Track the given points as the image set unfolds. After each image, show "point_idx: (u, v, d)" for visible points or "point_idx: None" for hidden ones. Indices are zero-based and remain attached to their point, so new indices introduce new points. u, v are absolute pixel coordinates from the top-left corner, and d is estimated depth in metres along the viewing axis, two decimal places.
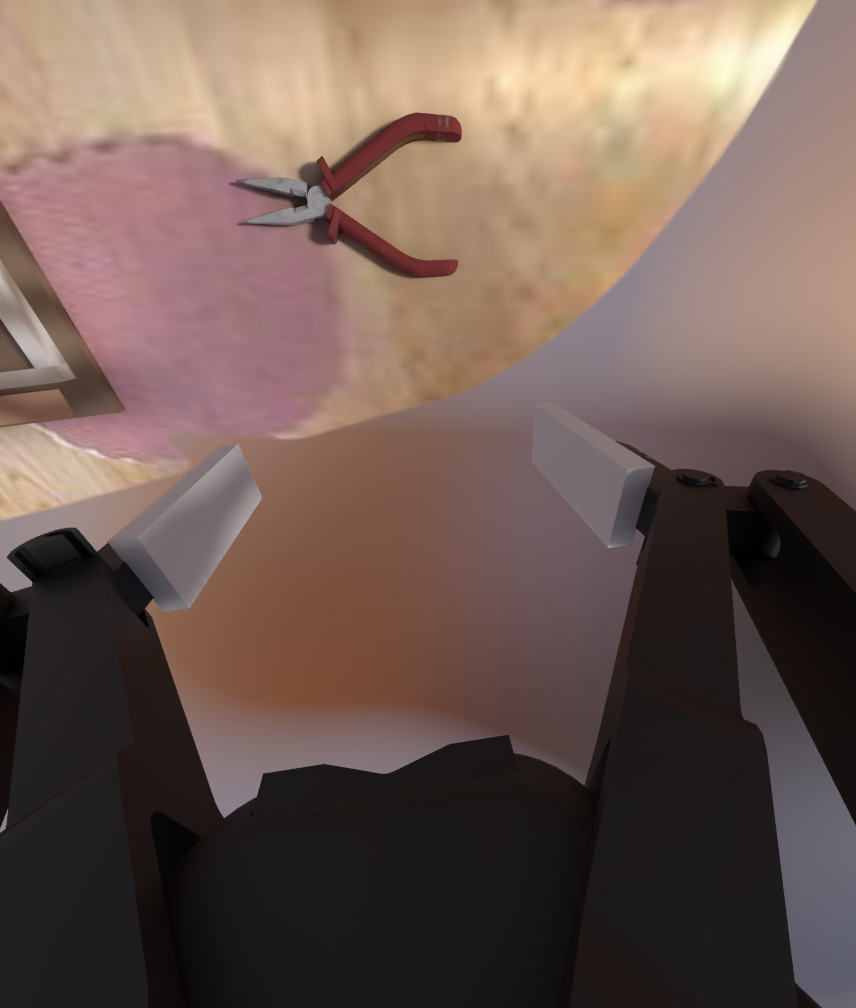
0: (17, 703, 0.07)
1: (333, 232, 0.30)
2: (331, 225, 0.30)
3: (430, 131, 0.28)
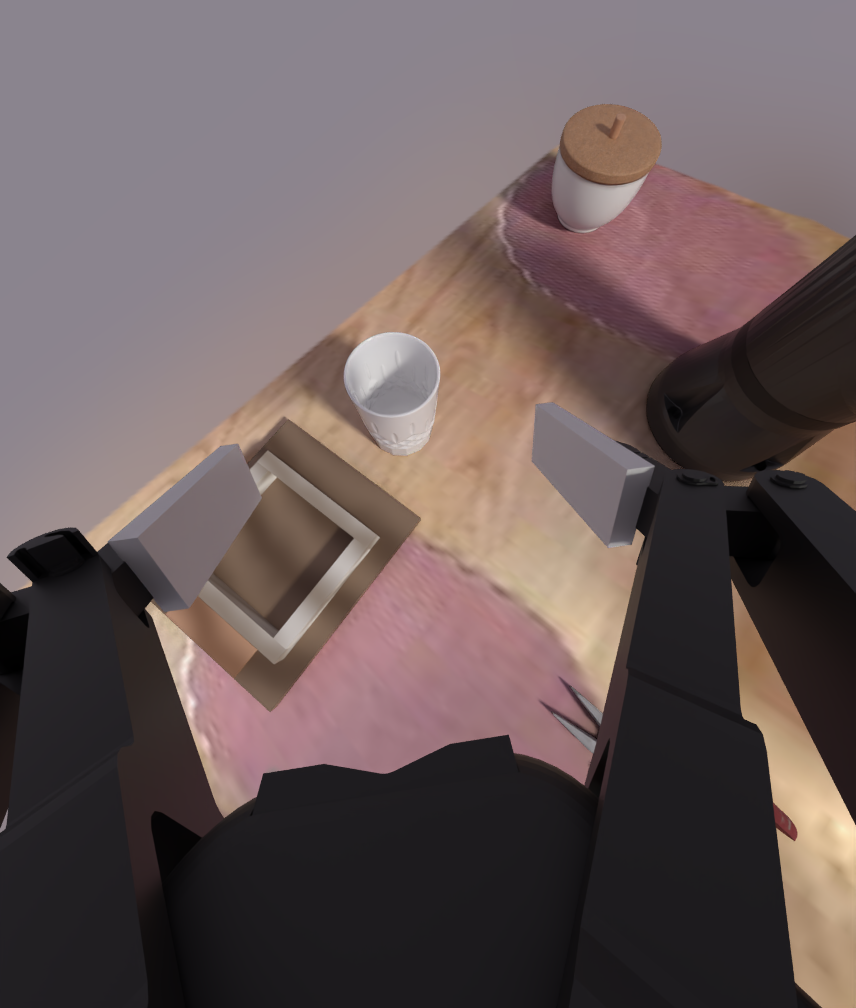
0: (17, 703, 0.07)
1: None
2: None
3: None
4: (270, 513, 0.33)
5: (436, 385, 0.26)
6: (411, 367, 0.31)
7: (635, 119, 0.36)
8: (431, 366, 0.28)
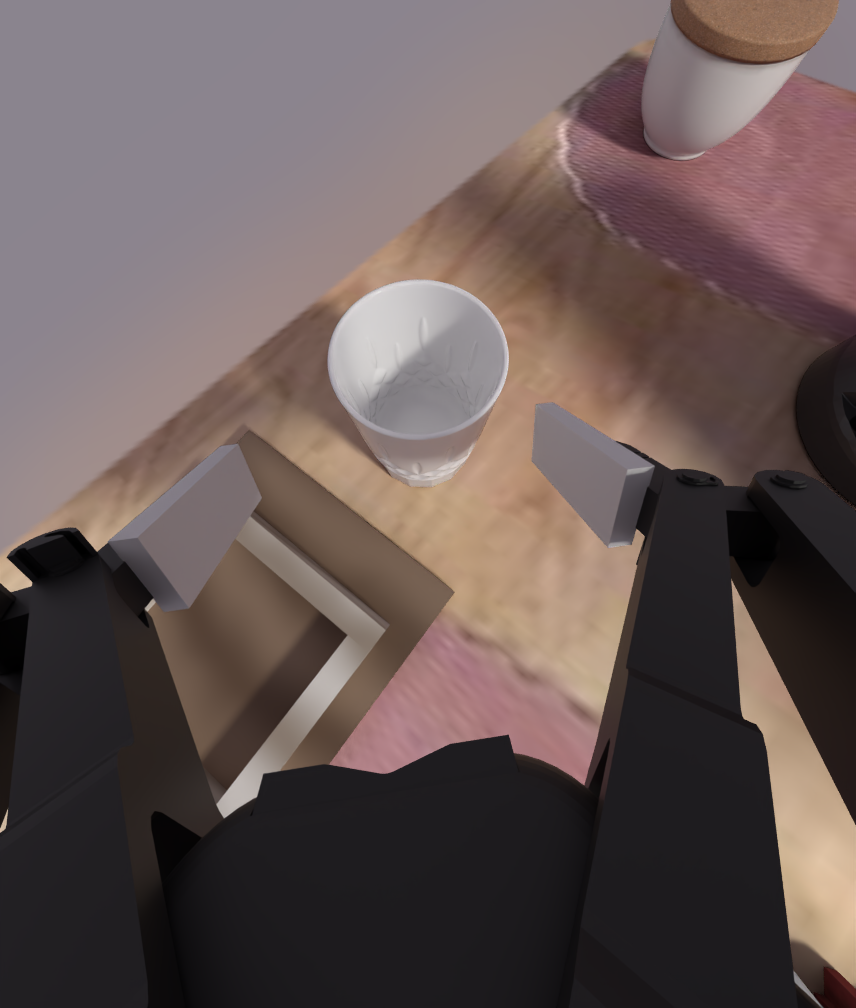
0: (17, 703, 0.07)
1: None
2: None
3: None
4: (215, 581, 0.21)
5: (502, 378, 0.14)
6: (444, 348, 0.18)
7: None
8: (486, 345, 0.16)
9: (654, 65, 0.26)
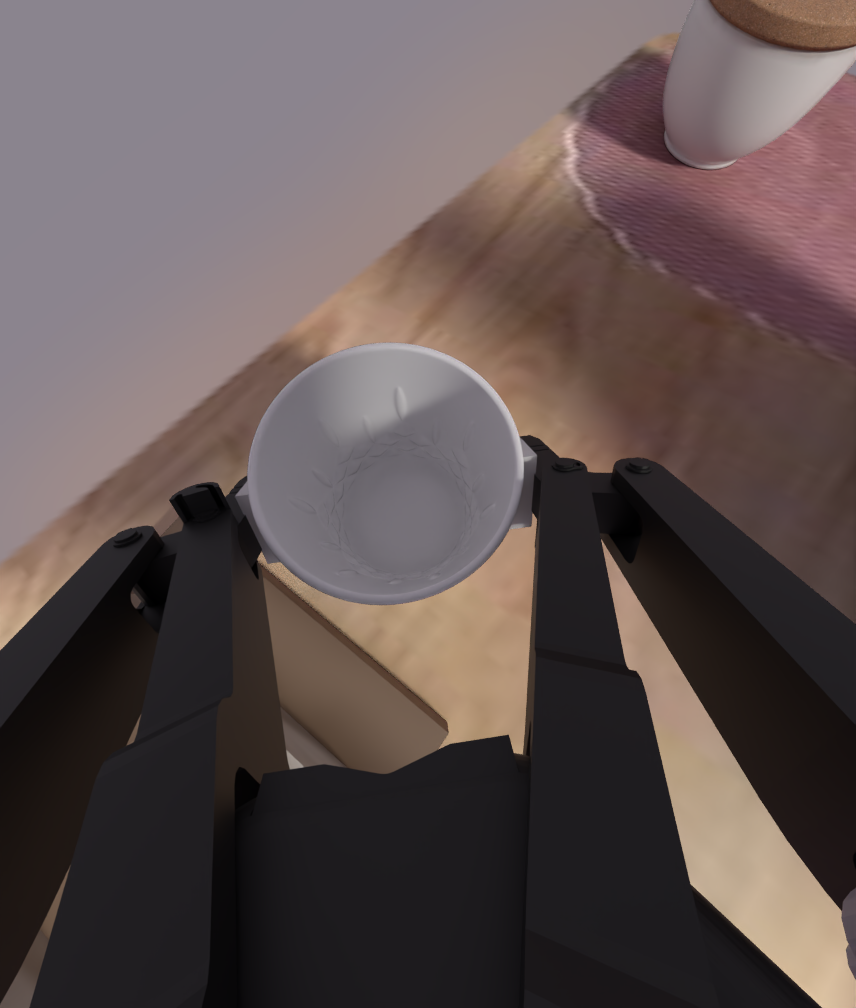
0: (152, 638, 0.08)
1: None
2: None
3: None
4: None
5: (515, 499, 0.09)
6: (430, 420, 0.14)
7: None
8: (488, 432, 0.11)
9: (682, 57, 0.21)
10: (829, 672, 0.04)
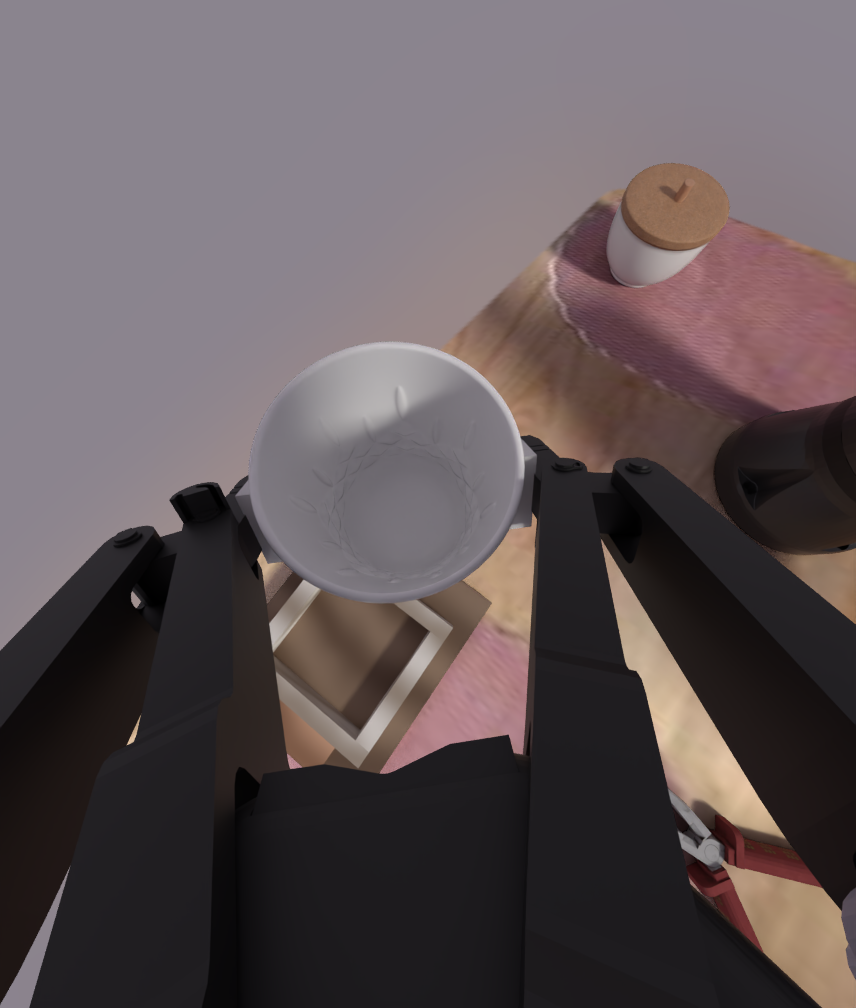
0: (152, 638, 0.08)
1: (713, 893, 0.26)
2: (715, 887, 0.26)
3: None
4: (339, 600, 0.33)
5: (516, 498, 0.09)
6: (431, 419, 0.14)
7: (701, 179, 0.35)
8: (489, 431, 0.11)
9: (613, 237, 0.37)
10: (829, 672, 0.04)
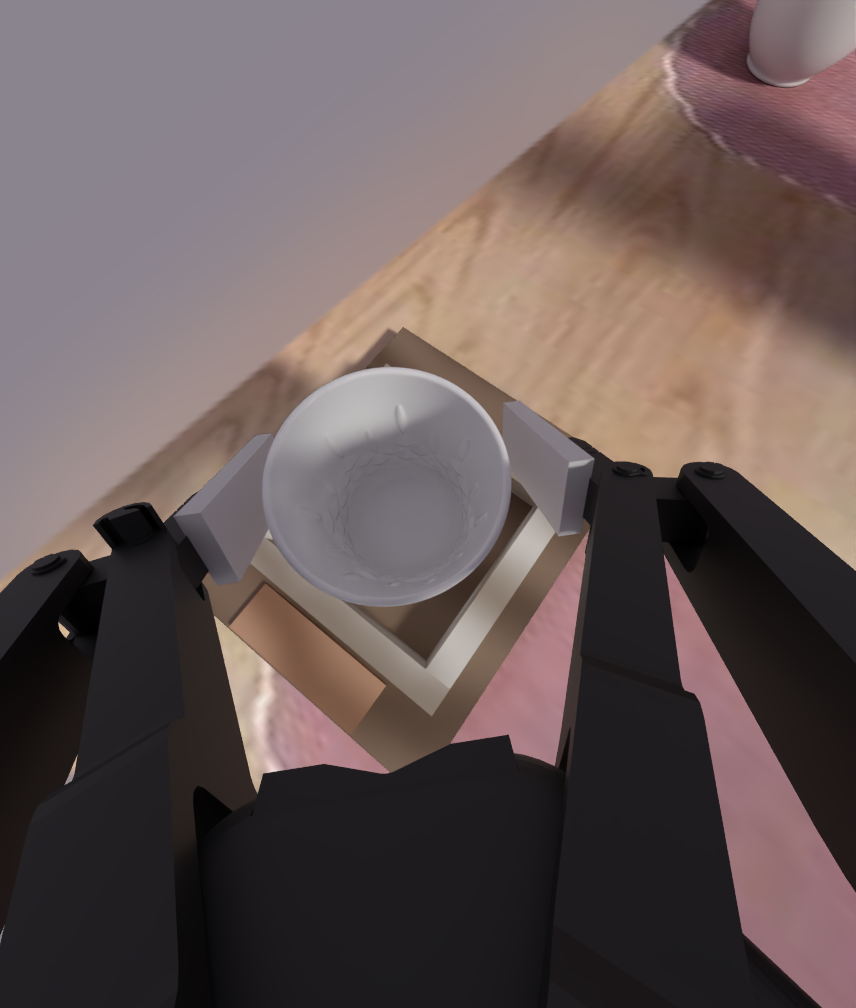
0: (87, 666, 0.07)
1: None
2: None
3: None
4: None
5: (503, 512, 0.10)
6: (429, 433, 0.15)
7: None
8: (481, 447, 0.12)
9: None
10: None
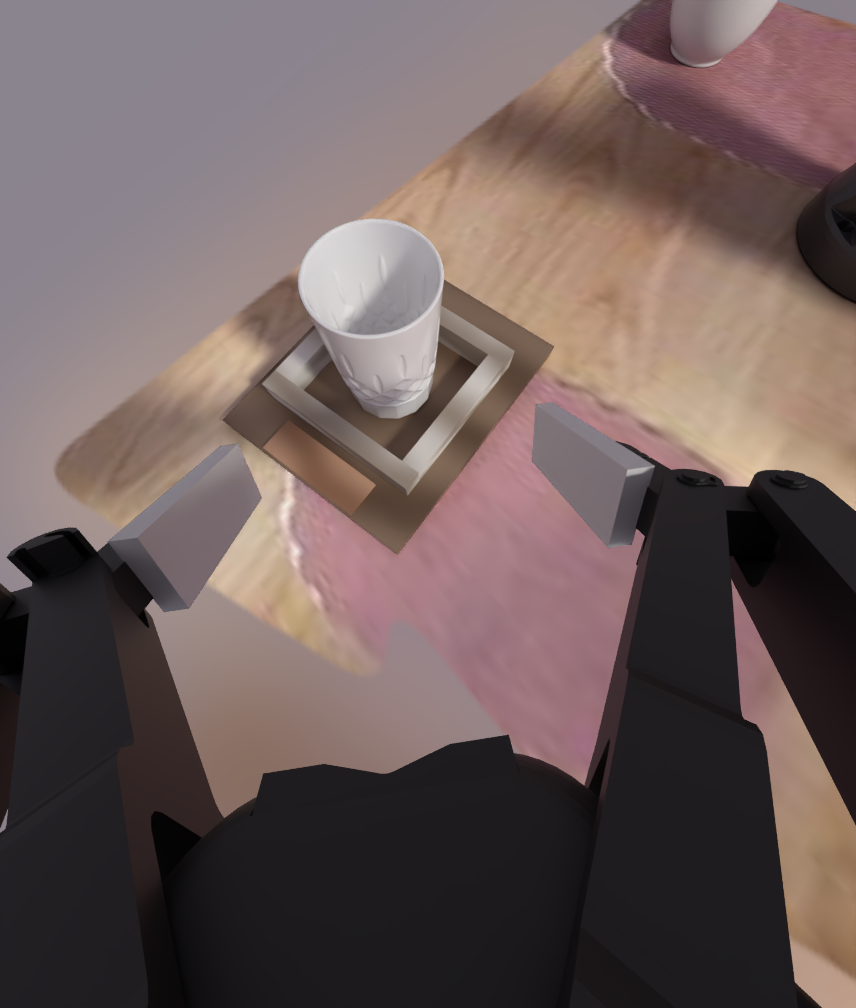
0: (17, 703, 0.07)
1: None
2: None
3: None
4: None
5: (438, 292, 0.17)
6: (402, 286, 0.22)
7: None
8: (431, 274, 0.19)
9: None
10: None
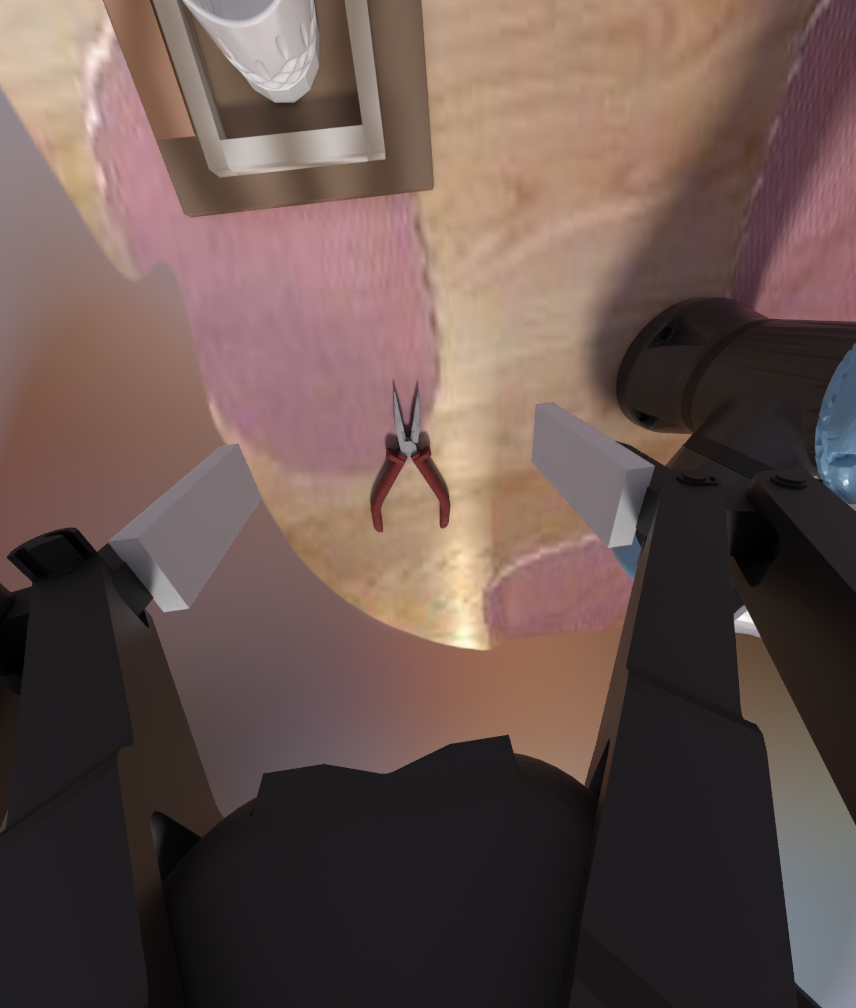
0: (17, 703, 0.07)
1: (391, 458, 0.42)
2: (394, 458, 0.41)
3: (442, 514, 0.47)
4: None
5: (263, 14, 0.17)
6: None
7: None
8: None
9: None
10: None
